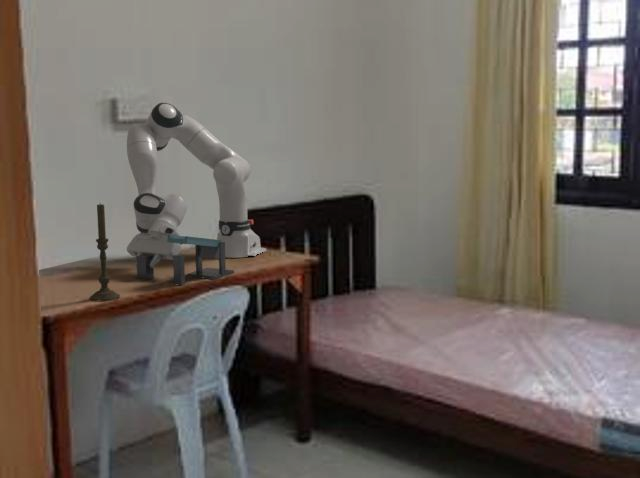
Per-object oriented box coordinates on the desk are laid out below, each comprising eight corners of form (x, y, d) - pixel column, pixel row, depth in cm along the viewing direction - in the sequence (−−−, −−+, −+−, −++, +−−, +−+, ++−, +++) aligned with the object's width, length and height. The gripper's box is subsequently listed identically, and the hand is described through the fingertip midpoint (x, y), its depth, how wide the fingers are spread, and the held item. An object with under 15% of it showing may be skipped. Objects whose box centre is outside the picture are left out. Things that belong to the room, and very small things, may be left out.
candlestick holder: (114, 293, 260) (110, 200, 255) (124, 298, 252) (119, 202, 247) (86, 297, 255) (81, 202, 250) (95, 302, 247) (90, 204, 243)
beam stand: (207, 270, 296) (206, 237, 294) (234, 273, 290) (233, 240, 289) (163, 283, 274) (162, 248, 272) (191, 286, 269) (190, 251, 267)
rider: (144, 276, 285) (143, 254, 284) (153, 277, 283) (152, 255, 282) (137, 278, 282) (136, 256, 281) (146, 279, 280) (145, 257, 279)
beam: (205, 257, 292) (207, 239, 292) (225, 259, 288) (227, 240, 288) (165, 254, 271) (167, 234, 271) (186, 256, 267) (188, 236, 267)
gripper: (133, 227, 291) (116, 258, 284) (179, 230, 281) (162, 263, 274) (142, 237, 295) (125, 268, 288) (187, 241, 286) (171, 273, 279)
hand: (143, 266), depth 281 cm, fingers closed on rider, 4 cm apart
